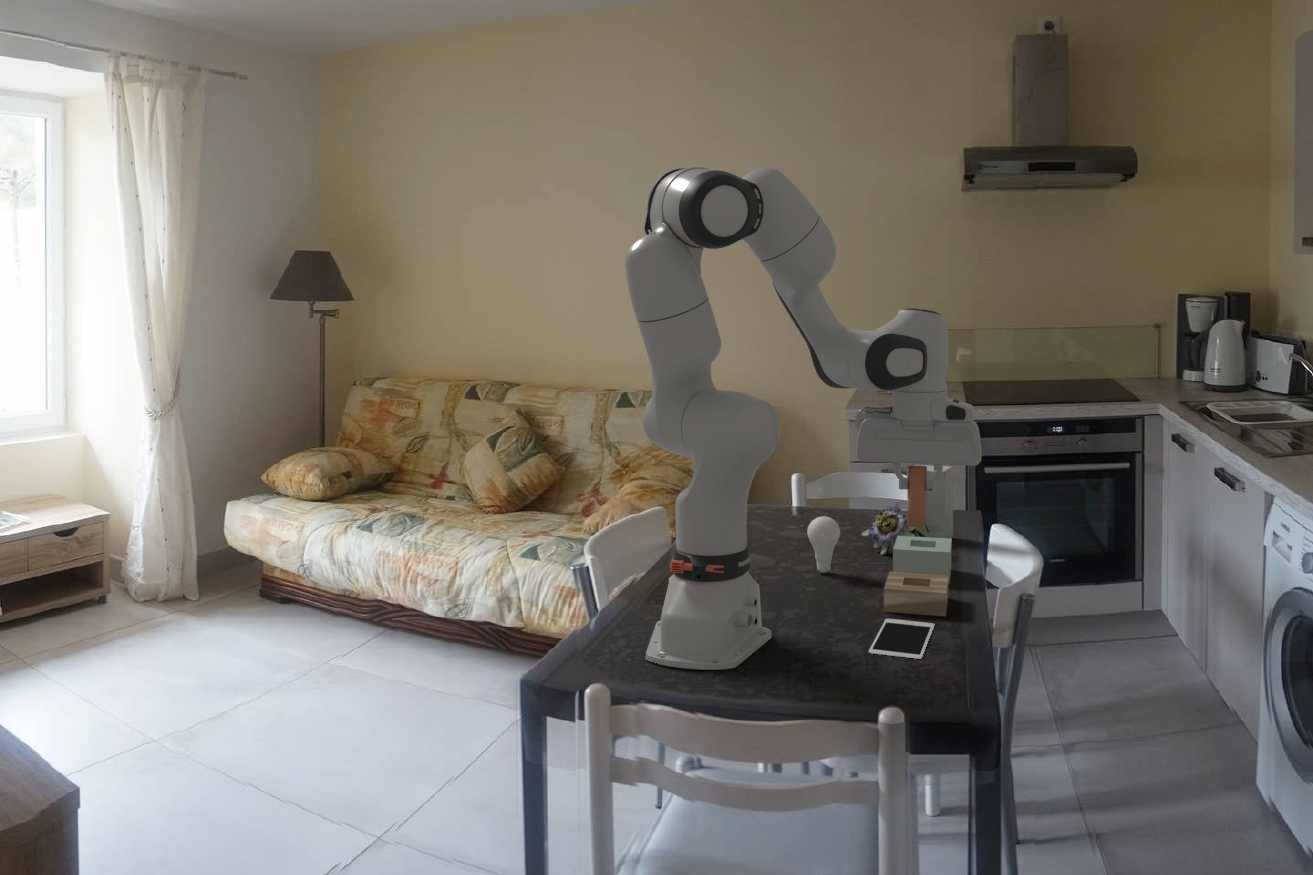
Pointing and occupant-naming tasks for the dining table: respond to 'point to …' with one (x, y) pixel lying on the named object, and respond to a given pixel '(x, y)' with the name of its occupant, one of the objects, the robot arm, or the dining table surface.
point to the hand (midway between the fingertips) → (917, 489)
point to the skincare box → (939, 505)
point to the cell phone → (902, 638)
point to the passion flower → (890, 528)
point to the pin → (916, 496)
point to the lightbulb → (823, 540)
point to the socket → (922, 555)
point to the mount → (916, 594)
